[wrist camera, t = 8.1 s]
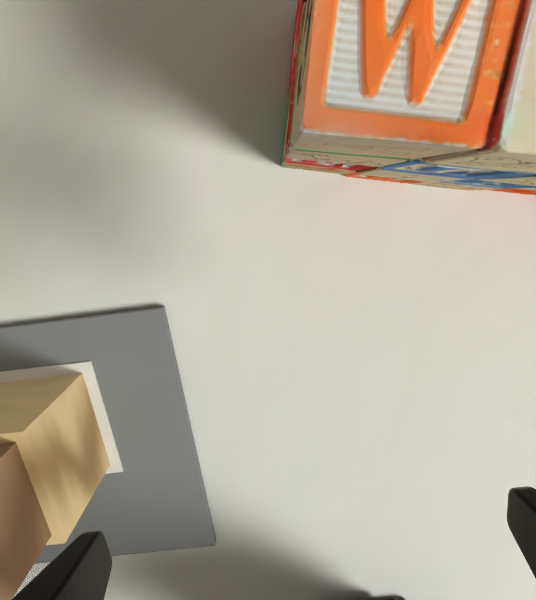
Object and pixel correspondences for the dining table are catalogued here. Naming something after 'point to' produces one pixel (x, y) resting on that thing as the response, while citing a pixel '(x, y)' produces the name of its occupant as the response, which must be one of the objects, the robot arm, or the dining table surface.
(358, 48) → the stack of blocks
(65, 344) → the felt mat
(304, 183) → the dining table surface
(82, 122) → the dining table surface
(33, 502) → the walnut cube
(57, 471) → the oak base block
